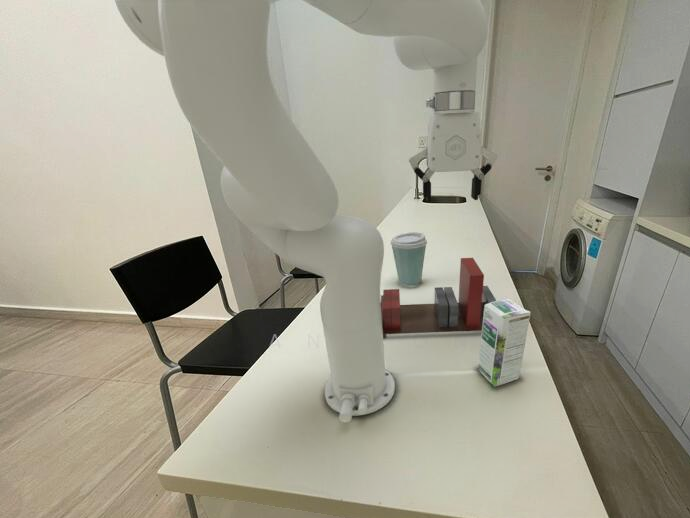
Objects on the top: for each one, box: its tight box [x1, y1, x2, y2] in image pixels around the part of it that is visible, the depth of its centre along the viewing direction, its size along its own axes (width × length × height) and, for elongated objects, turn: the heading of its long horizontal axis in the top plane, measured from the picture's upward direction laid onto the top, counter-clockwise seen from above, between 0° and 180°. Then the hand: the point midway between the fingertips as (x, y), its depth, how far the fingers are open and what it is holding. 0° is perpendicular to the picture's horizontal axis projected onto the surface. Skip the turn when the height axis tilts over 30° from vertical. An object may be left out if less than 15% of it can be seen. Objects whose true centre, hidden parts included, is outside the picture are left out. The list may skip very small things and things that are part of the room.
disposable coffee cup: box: [390, 231, 428, 286], centre depth 99 cm, size 11×11×15 cm
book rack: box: [380, 285, 497, 339], centre depth 80 cm, size 14×28×7 cm, turn 91°
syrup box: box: [477, 298, 531, 388], centre depth 60 cm, size 6×6×14 cm
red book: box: [457, 257, 485, 327], centre depth 78 cm, size 11×3×13 cm, turn 1°
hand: (451, 200), depth 69 cm, fingers open, 9 cm apart
